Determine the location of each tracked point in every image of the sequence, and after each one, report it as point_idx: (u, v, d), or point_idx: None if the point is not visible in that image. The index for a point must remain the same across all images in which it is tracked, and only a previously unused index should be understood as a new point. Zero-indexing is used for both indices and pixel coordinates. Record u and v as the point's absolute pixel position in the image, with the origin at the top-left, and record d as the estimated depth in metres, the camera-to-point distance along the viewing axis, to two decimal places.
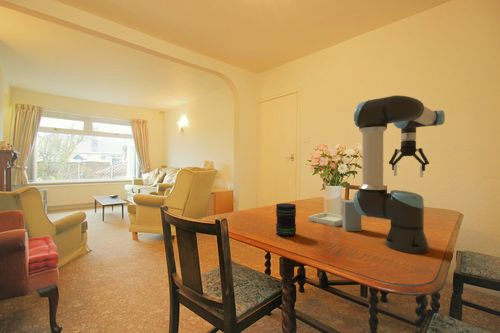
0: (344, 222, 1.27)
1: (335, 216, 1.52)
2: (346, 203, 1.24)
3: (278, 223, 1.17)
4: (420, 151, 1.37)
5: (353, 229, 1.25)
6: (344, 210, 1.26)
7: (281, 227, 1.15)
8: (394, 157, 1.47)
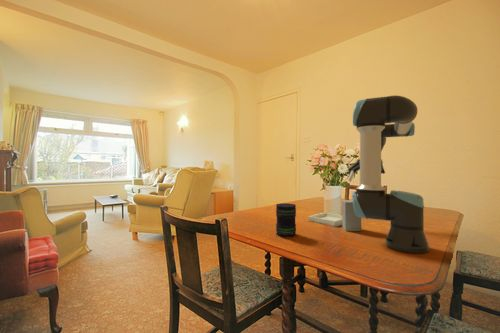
0: (344, 222, 1.27)
1: (335, 216, 1.52)
2: (346, 203, 1.24)
3: (278, 223, 1.17)
4: None
5: (353, 229, 1.25)
6: (344, 210, 1.26)
7: (281, 227, 1.15)
8: (355, 165, 1.44)
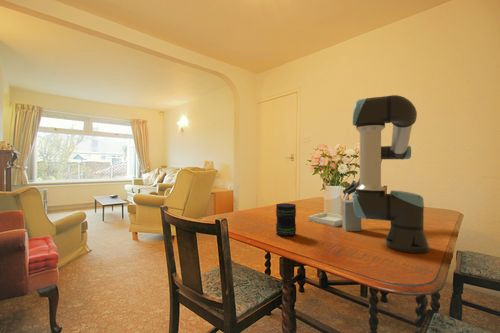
0: (344, 222, 1.27)
1: (335, 216, 1.52)
2: (346, 203, 1.24)
3: (278, 223, 1.17)
4: None
5: (353, 229, 1.25)
6: (344, 210, 1.26)
7: (281, 227, 1.15)
8: (349, 187, 1.41)
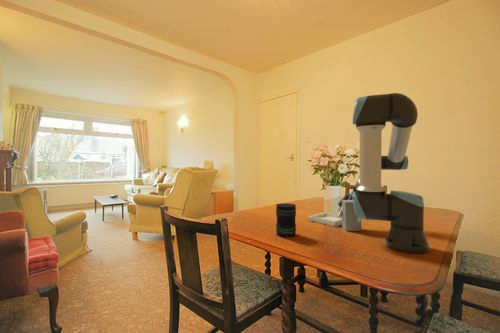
0: (344, 222, 1.27)
1: (335, 216, 1.52)
2: (346, 203, 1.24)
3: (278, 223, 1.17)
4: None
5: (353, 229, 1.25)
6: (344, 210, 1.26)
7: (281, 227, 1.15)
8: (344, 199, 1.35)
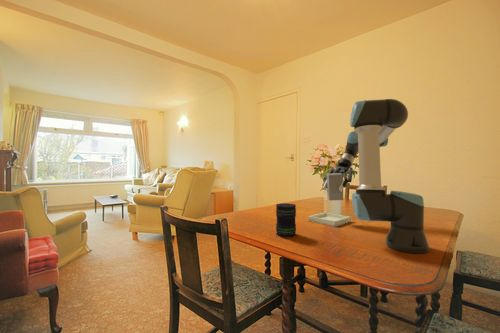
0: (328, 193, 1.42)
1: (335, 216, 1.52)
2: (329, 175, 1.40)
3: (278, 223, 1.17)
4: (350, 169, 1.42)
5: (336, 198, 1.40)
6: (328, 182, 1.42)
7: (281, 227, 1.15)
8: (329, 173, 1.50)
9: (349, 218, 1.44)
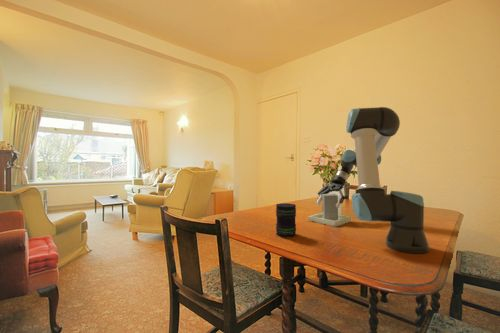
0: (323, 213, 1.45)
1: None
2: (325, 196, 1.43)
3: (278, 223, 1.17)
4: (345, 186, 1.46)
5: (331, 219, 1.43)
6: (323, 202, 1.45)
7: (281, 227, 1.15)
8: (324, 189, 1.55)
9: (349, 218, 1.44)
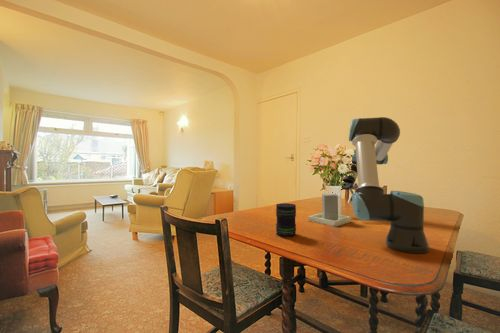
0: (323, 213, 1.45)
1: None
2: (325, 196, 1.43)
3: (278, 223, 1.17)
4: (355, 185, 1.54)
5: (331, 219, 1.43)
6: (323, 202, 1.45)
7: (281, 227, 1.15)
8: None
9: (349, 218, 1.44)
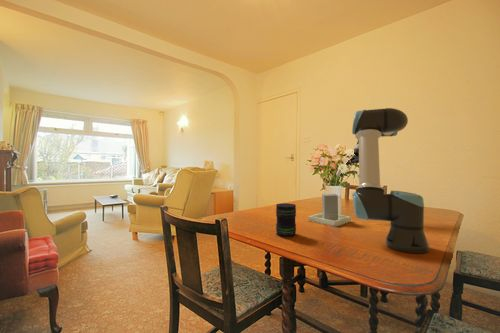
0: (323, 213, 1.45)
1: None
2: (325, 196, 1.43)
3: (278, 223, 1.17)
4: None
5: (331, 219, 1.43)
6: (323, 202, 1.45)
7: (281, 227, 1.15)
8: None
9: (349, 218, 1.44)
